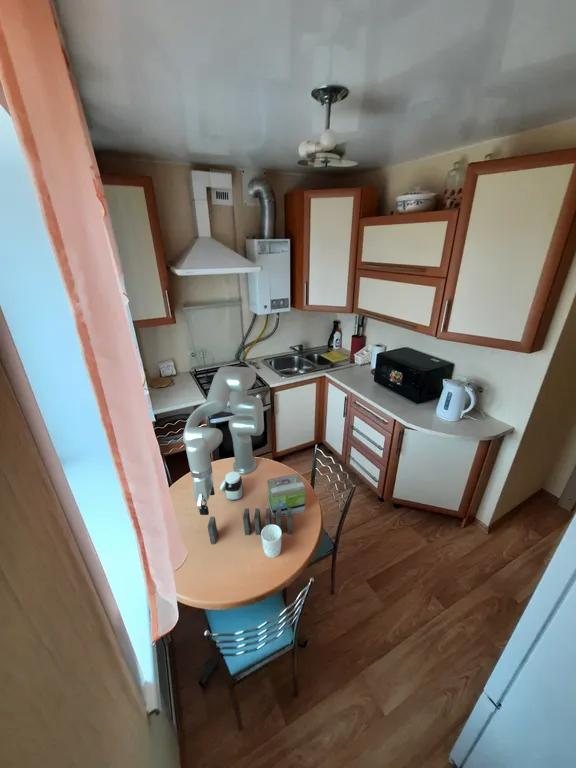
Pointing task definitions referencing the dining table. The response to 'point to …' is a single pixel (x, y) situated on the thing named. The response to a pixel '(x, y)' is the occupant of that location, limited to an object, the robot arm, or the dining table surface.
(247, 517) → the tile
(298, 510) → the tea box
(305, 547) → the dining table surface
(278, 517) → the tile
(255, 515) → the tile
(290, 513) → the tile
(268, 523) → the tile
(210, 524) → the tile
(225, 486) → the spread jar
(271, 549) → the white cup
